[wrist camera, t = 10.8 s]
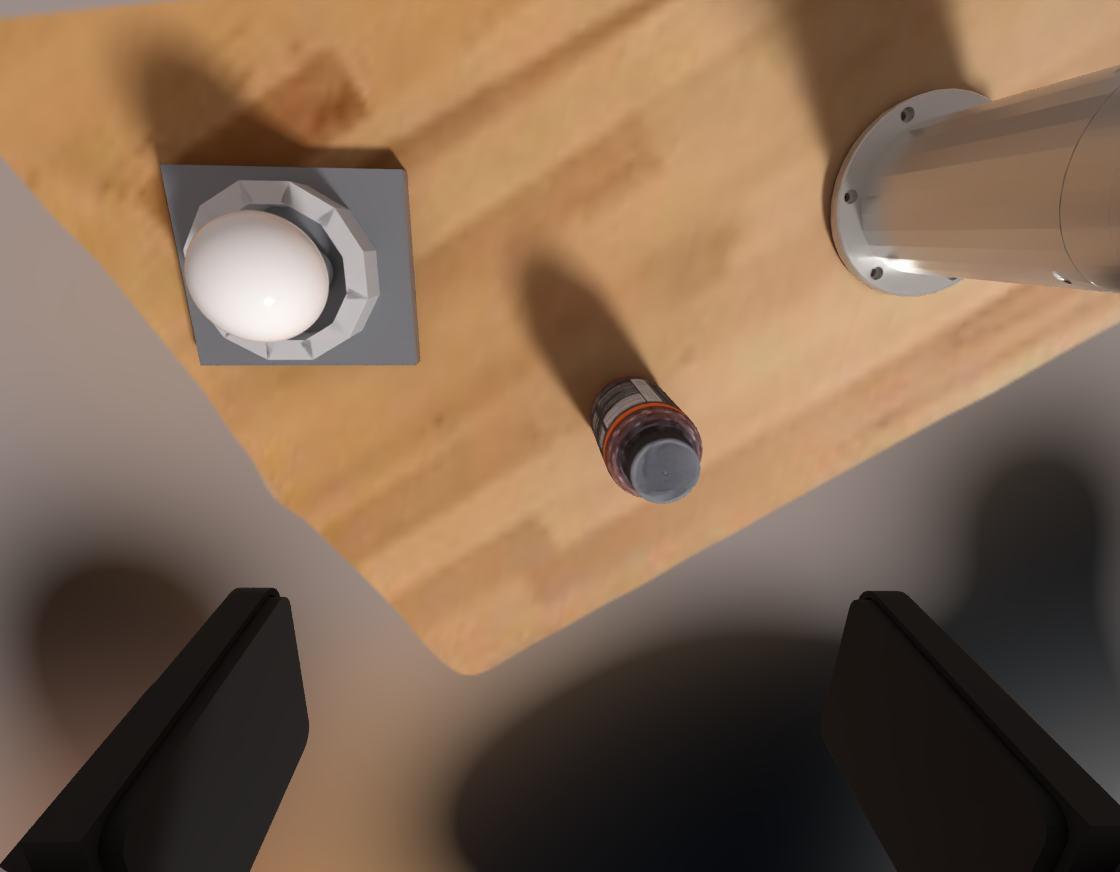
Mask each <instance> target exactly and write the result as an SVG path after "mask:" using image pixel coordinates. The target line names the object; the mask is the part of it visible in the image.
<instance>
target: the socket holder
mask: <svg viewBox="0 0 1120 872" xmlns="http://www.w3.org/2000/svg"><path fill="white" fill-rule="evenodd" d="M160 168H161V173H162V178H163V183H164V188H165V193H166V198H167V202H168V207H169V212H170V217H171V222H172V227H173V232H174V237H175V242H176V247H177V252H178V256H179V261H180V266H181V271H182V276H183V281H184V286H185V291H186V296H187V301H188V306H189V310H190V315H191V320H192V325H193V330H194V335H195V340H196V345H197V350H198V355H199V360H200V364H201V365H417V364H418V363H419V361H420V350H419V336H418V322H417V308H416V294H415V280H414V265H413V251H412V237H411V223H410V209H409V195H408V180H407V172H406V171H404V170H402V169H358V168H312V167H266V166H220V165H175V164H160ZM238 210H257V211H263V212H268V213H271V214H274V215H277V216H280V217H282V218H284V219H286V220H288V221H290V222H291V223H293V224H295V225H296V226H297V227H299V228H300V229H301V230H302V231H304V232H305V233H306V234H307V235H308V236H309V237H310V238H311V240H312V241H313V242H314V243H315V245H316V246H317V248H318V249H319V251H321V252H322V253H324V254H325V255H326V256H327V257H328V259H329V260H330V262H331V264H332V267H333V279H332V281H331V283H330V285H329V293H328V298H327V302H326V305H325V307H324V309H323V311H322V313H321V315H320V316H319V318H318V319H317V320H316V321H315V323H314V324H313V325H312V326H311V327H309V328H308V329H307V330H305V331H304V332H303V333H301V334H299V335H297V336H295V337H293V338H290V339H287V340H283V341H278V342H254V341H249V340H244V339H241V338H238V337H235V336H233V335H231V334H229V333H227V332H225V331H223V330H221V329H220V328H218V327H217V326H215V325H214V324H213V323H212V322H211V321H209V320H208V319H207V318H206V317H205V316H204V315H203V314H202V312H201V311H200V310H199V309H198V307H197V306H196V304H195V303H194V301H193V299H192V297H191V295H190V293H189V290H188V287H187V284H186V280H185V273H184V263H185V256H186V252H187V249H188V246H189V244H190V242H191V240H192V238H193V237H194V235H195V234H196V232H197V231H198V230H199V229H200V228H201V227H202V226H203V225H204V224H206V223H207V222H208V221H210V220H211V219H213V218H215V217H217V216H219V215H222V214H225V213H228V212H232V211H238Z"/></svg>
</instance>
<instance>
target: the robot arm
mask: <svg viewBox="0 0 1120 872" xmlns="http://www.w3.org/2000/svg"><path fill="white" fill-rule="evenodd" d="M901 116H902V118H901ZM845 194H846V197H847V198H846V200H844V196H845ZM830 222H831V228H832V235H833V240H834V243H835V246H836V249H837V252H838V254H839V256H840V258H841V260H842V261H843V263H844V265H845V266H846V268H847V269H848V270H849V271H850V272H851V273H852V274H853V275H854V276H855V277H856V278H857V279H858V280H859V281H860V282H862V283H863V284H865V285H866V286H868V287H870V288H871V289H874V290H877V291H880V292H883V293H886V294H892V295H897V296H922V295H927V294H932V293H936V292H939V291H941V290H944V289H947V288H949V287H952V286H953V285H955V284H957V283H958V282H960V281H962V280H963V279H965V278H966V279H976V280H986V281H996V282H1007V283H1017V284H1027V285H1037V286H1048V287H1058V288H1068V289H1078V290H1088V291H1099V292H1109V293H1119V294H1120V65H1118V66H1115V67H1111V68H1107V69H1104V70H1100V71H1097V72H1093V73H1090V74H1086V75H1083V76H1079V77H1076V78H1072V79H1069V80H1065V81H1062V82H1058V83H1055V84H1051V85H1047V86H1044V87H1040V88H1037V89H1033V90H1030V91H1026V92H1023V93H1019V94H1016V95H1012V96H1009V97H1005V98H1002V99H998V100H994V101H992V100H991V99H989V98H988V97H985V96H983V95H981V94H978V93H976V92H973V91H969V90H963V89H956V88H951V89H939V90H933V91H930V92H926V93H923V94H920V95H917V96H914V97H912V98H909V99H907V100H904V101H902V102H899V103H898V104H896V105H895V106H893V107H892V108H890V109H888V110H887V111H885V112H884V113H882V114H881V115H880V116H879V117H878V118H877V119H876V120H874V121H873V122H872V123H871V124H870V125H869V126H868V127H867V128H866V129H865V130H864V131H863V133H862V134H861V135H860V136H859V138H858V139H857V140H856V141H855V143H854V144H853V146H852V147H851V149H850V151H849V153H848V154H847V156H846V158H845V160H844V161H843V163H842V166H841V168H840V171H839V174H838V176H837V179H836V182H835V186H834V191H833V195H832V200H831V220H830ZM871 271H872V274H871V275H870V273H871ZM821 730H822V735H823V738H824V741H825V743H826V746H827V747H828V749H829V750H830V753H831V754H832V756H833V758H834V760H835V761H836V763H837V765H838V767H839V769H840V771H841V772H842V774H843V776H844V778H845V779H846V781H847V783H848V785H849V787H850V788H851V790H852V792H853V794H854V795H855V797H856V799H857V801H858V803H859V804H860V806H861V808H862V810H863V811H864V813H865V815H866V817H867V819H868V820H869V822H870V824H871V826H872V827H873V829H874V831H875V833H876V835H877V837H878V838H879V840H880V842H881V843H882V845H883V847H884V849H885V851H886V852H887V854H888V856H889V858H890V860H891V862H892V863H893V865H894V867H895V869H896V870H897V872H1120V805H1119V804H1118V803H1117V802H1116V801H1115V800H1114V799H1113V798H1112V797H1111V796H1110V795H1109V794H1108V793H1107V792H1106V791H1105V790H1104V789H1103V788H1102V787H1101V786H1100V785H1099V784H1098V783H1097V782H1096V781H1095V780H1094V779H1093V778H1092V777H1091V776H1090V775H1089V774H1088V773H1087V772H1086V771H1085V770H1084V769H1083V768H1082V767H1081V766H1080V765H1079V764H1078V763H1076V761H1075V760H1074V759H1073V758H1071V757H1070V755H1068V753H1067V752H1065V751H1064V750H1063V749H1062V748H1061V747H1060V746H1059V745H1058V744H1057V743H1056V742H1055V741H1054V740H1053V739H1052V738H1051V737H1050V736H1049V735H1048V734H1047V733H1046V732H1045V731H1044V730H1043V729H1042V728H1041V727H1040V726H1039V725H1038V724H1037V723H1036V722H1035V721H1034V720H1033V719H1032V718H1031V717H1030V716H1029V715H1028V714H1027V713H1026V712H1025V711H1024V710H1023V709H1022V708H1021V707H1020V706H1019V705H1018V704H1017V703H1016V702H1015V701H1014V700H1013V699H1012V698H1011V697H1010V696H1009V695H1008V694H1007V693H1006V692H1004V690H1003V689H1001V687H1000V686H999V685H998V684H997V683H996V682H995V681H994V680H993V679H992V678H991V677H990V676H989V675H987V673H986V672H985V671H984V670H982V668H981V667H980V666H978V665H977V663H976V662H974V661H973V660H972V659H971V658H970V657H969V656H968V655H967V654H966V653H965V652H964V651H963V650H962V649H961V648H960V647H959V646H958V645H957V644H956V643H955V642H954V641H953V640H952V639H951V638H950V637H949V636H948V635H947V634H946V633H945V632H944V631H943V630H942V629H941V628H940V627H939V626H938V625H937V624H936V623H935V622H934V621H933V620H932V619H931V618H930V617H929V616H928V615H927V614H926V613H925V612H924V611H923V610H922V609H921V608H920V607H919V606H918V605H917V604H916V603H915V602H914V601H913V600H912V599H911V598H910V597H909V596H908V595H906V594H905V593H903V592H899V591H866V592H863V593H862V595H860V597H859V600H854V601H853V602H852V603H851V605H850V608H849V612H848V616H847V620H846V624H845V628H844V632H843V636H842V640H841V644H840V648H839V652H838V655H837V659H836V664H835V667H834V671H833V675H832V680H831V683H830V687H829V691H828V695H827V699H826V703H825V707H824V711H823V715H822V720H821ZM308 733H309V720H308V713H307V707H306V701H305V694H304V688H303V682H302V675H301V669H300V662H299V656H298V650H297V643H296V637H295V631H294V624H293V618H292V612H291V605H290V602H289V600H288V598H286V597H280V595H279V592H278V591H277V589H275V588H236V589H234V590H233V591H232V592H231V593H230V594H229V595H228V596H227V598H226V599H225V600H224V601H223V602H222V604H221V605H220V606H219V607H218V608H217V610H216V611H215V612H214V613H213V614H212V615H211V617H210V618H209V619H208V620H207V621H206V623H205V624H204V625H203V626H202V628H200V630H199V631H198V632H197V633H196V634H195V636H194V637H193V638H192V639H191V641H190V642H189V643H188V644H187V645H186V646H185V648H184V649H183V650H182V651H181V652H180V653H179V655H178V656H177V657H176V658H175V659H174V661H173V662H172V663H171V664H170V665H169V667H168V668H167V669H166V670H165V671H164V673H163V674H162V675H161V676H160V677H159V678H158V680H157V681H156V682H155V683H154V684H153V685H151V686H150V688H149V689H148V690H147V691H146V692H145V693H144V694H143V696H142V697H141V698H140V699H139V700H138V702H137V703H136V704H135V705H134V706H133V708H132V709H131V710H130V711H129V712H128V713H127V715H126V716H125V717H124V718H123V719H122V720H121V722H120V723H119V724H118V725H117V726H116V728H115V729H114V730H113V731H112V733H111V734H110V735H109V736H108V737H107V738H106V739H105V741H104V742H103V743H102V744H101V745H100V747H99V748H98V749H97V750H96V751H95V752H94V754H93V755H92V756H91V757H90V758H89V760H88V761H87V762H86V763H85V764H84V765H83V767H82V768H81V769H80V770H79V771H78V773H77V774H76V775H75V776H74V777H73V779H72V780H71V781H70V782H69V783H68V784H67V786H66V787H65V788H64V789H63V790H62V792H61V793H60V794H59V795H58V796H57V797H56V799H55V800H54V801H53V802H52V803H51V805H50V806H49V807H48V808H47V809H46V811H45V812H44V813H43V814H42V815H41V817H40V818H39V819H38V820H37V821H36V822H35V824H34V825H33V826H32V827H31V828H30V829H29V831H28V832H27V833H26V834H25V835H24V837H23V838H22V839H21V840H20V841H19V843H18V844H17V845H16V846H15V847H14V849H13V850H12V851H11V852H10V853H9V854H8V855H7V857H6V858H5V859H4V860H3V861H2V863H1V864H0V872H250V869H251V868H252V865H253V863H254V861H255V859H256V856H257V854H258V852H259V849H260V847H261V845H262V843H263V841H264V838H265V836H266V834H267V832H268V829H269V827H270V825H271V823H272V821H273V818H274V816H275V814H276V812H277V809H278V807H279V805H280V803H281V800H282V798H283V796H284V793H285V791H286V789H287V787H288V784H289V782H290V780H291V778H292V776H293V774H294V771H295V769H296V766H297V764H298V762H299V760H300V758H301V756H302V753H303V751H304V748H305V746H306V743H307V739H308Z"/></svg>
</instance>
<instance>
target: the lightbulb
mask: <svg viewBox="0 0 1120 872" xmlns="http://www.w3.org/2000/svg"><path fill="white" fill-rule="evenodd" d="M184 273H185V280H186V284H187V287H188V290H189V293H190V295H191V297H192V299H193V301H194V303H195V304H196V306H197V307H198V309H199V310H200V311H201V312H202V314H203V315H204V316H205V317H206V318H207V319H208V320H209V321H211V322H212V323H213V324H214V325H215V326H217V327H218V328H220V329H221V330H223V331H225V332H227V333H229V334H231V335H233V336H235V337H238V338H241V339H244V340H249V341H254V342H278V341H283V340H287V339H290V338H293V337H295V336H297V335H299V334H301V333H303V332H304V331H305V330H307V329H308V328H309V327H311V326H312V325H313V324H314V323H315V321H316V320H317V319H318V318H319V316H320V315H321V313H322V311H323V309H324V307H325V305H326V302H327V298H328V293H329V285H330V283H331V281H332V279H333V267H332V264H331V262H330V260H329V259H328V257H327V256H326V255H325V254H324V253H322V252H321V251H319V249H318V248H317V246H316V245H315V243H314V242H313V241H312V240H311V238H310V237H309V236H308V235H307V234H306V233H305V232H304V231H302V230H301V229H300V228H299V227H297V226H296V225H295V224H293V223H291V222H290V221H288V220H286V219H284V218H282V217H280V216H277V215H274V214H271V213H268V212H263V211H257V210H238V211H232V212H228V213H225V214H222V215H219V216H217V217H215V218H213V219H211V220H210V221H208V222H207V223H206V224H204V225H203V226H202V227H201V228H200V229H199V230H198V231H197V232H196V234H195V235H194V237H193V238H192V240H191V242H190V244H189V246H188V249H187V252H186V256H185V263H184Z"/></svg>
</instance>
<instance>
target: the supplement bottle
mask: <svg viewBox="0 0 1120 872" xmlns="http://www.w3.org/2000/svg"><path fill="white" fill-rule="evenodd" d="M591 425H592V430H593V433H594V436H595V438H596V441H597V444H598V446H599V449H600V452H601V454H602V457H603V459H604V462H605V465H606V467H607V470H608V472H609V474H610V475H611V477H612V478H613V480H614V481H615V482H616V484H617V485H618V486H619V487H621V488H622V489H623V490H624V491H626V492H628V493H630V494H632V495H634V496H637V497H641V498H644V499H646V500H647V501H650V502H653V503H659V504H665V503H671V502H675V501H677V500H679V499H681V498H683V497H685V496H686V495H687V494H688V493H689V492H690V491H691V490H692V489H693V488H694V487H695V485H696V483H697V481H698V478H699V474H700V462H701V458H702V441H701V438H700V435H699V432H698V430H697V428H696V427H695V425H694V423H693V422H692V421H691V420H690V419H689V418H688V416H687V415H685V414H684V413H683V412H682V410H681V409H680V408H679V407H678V406H677V405H676V404H675V403H674V402H673V401H672V400H671V399H670V398H669V397H668V396H667V395H666V393H665V392H663V390H662V389H661V388H659V387H658V386H657V385H655V384H654V383H652V382H651V381H649V380H646V379H643V378H638V377H626V378H621V379H618V380H616V381H614V382H612V383H610V384H609V385H607V386H606V387H605V388H604V389H603V390H602V391H601V392H600V393H599V394H598V396H597V397H596V399H595V401H594V404H593V406H592V410H591Z"/></svg>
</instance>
